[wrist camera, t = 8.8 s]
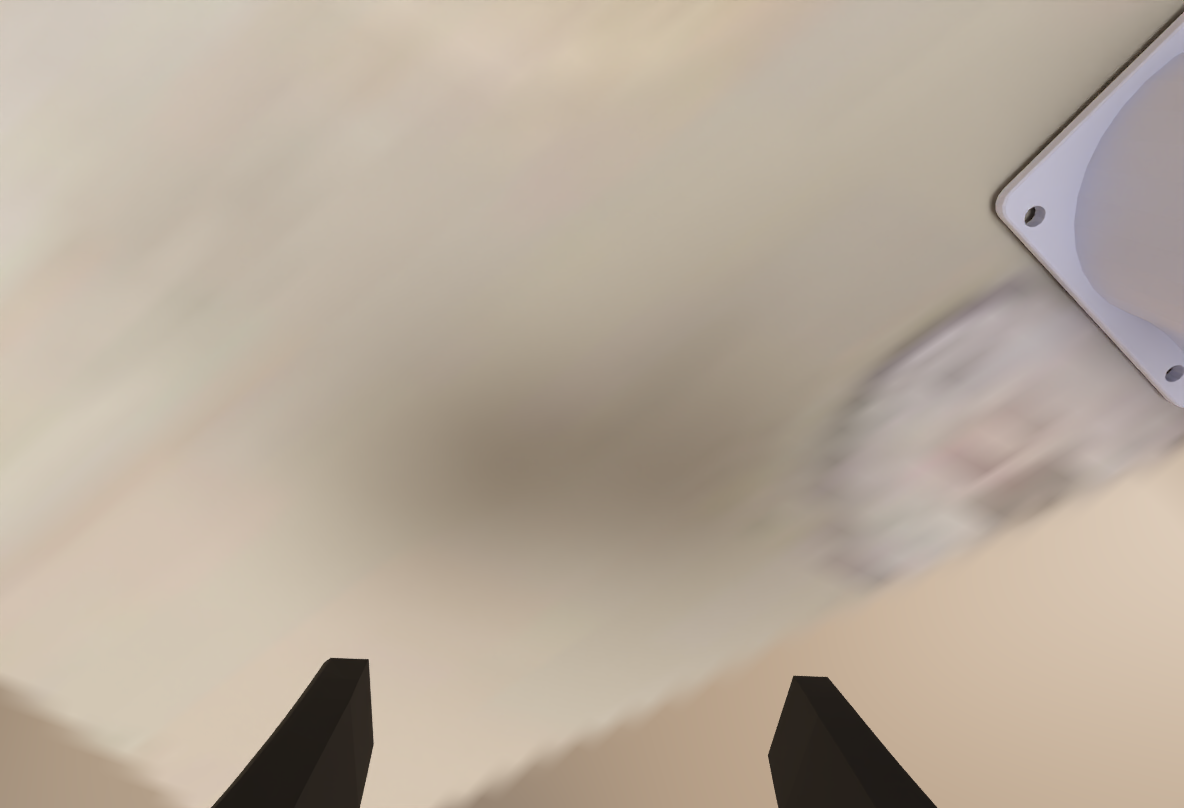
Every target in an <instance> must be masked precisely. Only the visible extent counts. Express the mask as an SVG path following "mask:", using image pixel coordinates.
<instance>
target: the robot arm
mask: <svg viewBox="0 0 1184 808" xmlns="http://www.w3.org/2000/svg"><path fill="white" fill-rule="evenodd" d="M1032 207H1035V209H1036V211H1035V215H1034V217H1033V218H1032V220H1031V221H1029V222H1027V223H1026V224H1025V221H1024V218H1025V214H1026V213H1027V212H1028V210H1029V209H1031V208H1032ZM996 212H997V214H998V216H999V218H1000V219H1001V220H1002V221H1003V222H1004V223H1005V224H1006V225H1007V226H1008V227H1009V229H1010V230H1011V231H1012V232H1013V233H1014V234H1015V235H1016V236H1017V237H1018V238H1019V239H1020V241H1021V242H1022V243H1023V244H1024V245H1025V246H1026V247H1027V248H1028V249H1029V250H1030V251H1031V253H1032V254H1033V255H1034V256H1035V257H1036V258H1037V259H1038V260H1039V261H1040V262H1041V263H1042V265H1043V266H1044V267H1045V268H1046V269H1047V270H1048V271H1049V272H1050V273H1051V274H1052V275H1053V277H1054V278H1055V279H1056V280H1057V281H1058V282H1059V283H1060V284H1061V285H1062V286H1063V287H1064V289H1065V290H1066V291H1067V292H1068V293H1069V294H1070V295H1071V296H1072V297H1073V298H1074V299H1075V301H1076V302H1077V303H1078V304H1079V305H1080V306H1081V307H1082V308H1083V309H1084V310H1085V311H1086V312H1087V314H1088V315H1089V316H1090V317H1091V318H1092V319H1093V320H1094V321H1095V322H1096V323H1097V324H1098V326H1099V327H1100V328H1101V329H1102V330H1103V331H1104V332H1105V333H1106V334H1107V335H1108V336H1109V338H1110V339H1111V340H1112V341H1113V342H1114V343H1115V344H1116V345H1117V346H1118V347H1119V348H1120V350H1121V351H1122V352H1123V353H1124V354H1125V355H1126V356H1127V357H1128V358H1129V359H1130V360H1131V362H1132V363H1133V364H1134V365H1135V366H1136V367H1137V368H1138V369H1139V370H1140V371H1141V372H1142V374H1143V375H1144V376H1145V377H1146V378H1147V379H1148V380H1149V381H1150V382H1151V383H1152V384H1153V386H1154V387H1155V388H1156V389H1157V390H1158V391H1159V392H1160V393H1161V394H1162V395H1163V396H1164V398H1165V399H1166V400H1167V401H1169V402H1171V403H1173V404H1174V405H1176V406H1178V407H1181V408H1184V12H1183V13H1182V14H1181V15H1180V16H1179V17H1178V18H1177V19H1176V20H1175V21H1174V22H1173V23H1172V24H1171V25H1170V26H1169V27H1168V28H1167V29H1166V30H1165V31H1164V32H1163V33H1162V34H1161V35H1160V36H1159V37H1158V38H1157V39H1156V40H1155V41H1154V42H1153V43H1152V44H1151V45H1150V46H1149V47H1147V48H1146V49H1145V50H1144V51H1143V52H1142V53H1141V54H1140V55H1139V56H1138V57H1137V58H1136V59H1135V60H1134V61H1133V62H1132V63H1131V64H1130V65H1129V66H1128V67H1127V68H1126V69H1125V70H1124V71H1123V72H1122V73H1121V74H1120V75H1119V76H1118V77H1117V78H1116V79H1115V80H1114V81H1113V82H1112V83H1111V84H1110V85H1109V86H1108V87H1107V88H1106V89H1105V90H1104V91H1103V92H1102V93H1101V94H1100V95H1099V96H1098V97H1096V98H1095V99H1094V100H1093V101H1092V102H1091V103H1090V104H1089V105H1088V106H1087V107H1086V108H1085V109H1084V110H1083V111H1082V112H1081V113H1080V114H1079V115H1078V116H1077V117H1076V118H1075V119H1074V120H1073V121H1072V122H1071V123H1070V124H1069V125H1068V126H1067V127H1066V128H1065V129H1064V130H1063V131H1062V132H1061V133H1060V134H1059V135H1058V136H1057V137H1056V138H1055V139H1054V140H1053V141H1052V142H1051V143H1050V144H1049V145H1048V146H1046V147H1045V148H1044V149H1043V150H1042V151H1041V152H1040V153H1039V154H1038V155H1037V156H1036V157H1035V158H1034V159H1033V160H1032V161H1031V162H1030V163H1029V164H1028V165H1027V166H1026V167H1025V168H1024V169H1023V170H1022V171H1021V172H1020V173H1019V174H1018V175H1017V176H1016V177H1015V178H1014V179H1013V180H1012V181H1011V182H1010V183H1009V184H1008V185H1007V186H1006V187H1005V188H1004V189H1003V190H1002V191H1001V193H1000V194H999V195H998V198H997V201H996ZM1171 367H1172V370H1171V371H1170V372H1169V373H1168V374H1166V372H1167V371H1168V370H1169V369H1170V368H1171ZM373 744H374V743H373V726H372V709H371V692H370V674H369V659H344V658H330V659H329V660H327V661H326V662H325V663H324V664H323V665H322V667H321V668H320V670H319V671H318V672H317V674H316V675H315V677H314V678H313V680H312V681H311V683H310V684H309V685H308V687H307V688H306V690H305V691H304V692H303V694H302V695H301V697H300V698H299V699H298V701H297V702H296V703H295V705H294V706H293V707H292V709H291V710H290V711H289V713H288V714H287V715H286V717H285V718H284V719H283V721H282V722H281V723H280V725H279V726H278V727H277V728H276V730H275V731H274V732H273V734H272V735H271V736H270V738H269V739H268V740H267V741H266V742H265V744H264V745H263V746H262V747H261V749H260V750H259V751H258V752H257V754H256V755H255V756H254V757H253V759H252V760H251V761H250V762H249V763H248V765H247V766H246V767H245V768H244V770H243V771H242V772H241V773H240V775H239V776H238V777H237V778H236V779H235V781H234V782H233V783H232V784H231V785H230V787H229V788H228V789H227V790H226V791H225V792H224V794H223V795H222V796H221V797H220V798H219V799H218V800H217V801H216V803H215V804H214V805H213V806H212V807H211V808H360V804H361V800H362V795H363V791H364V786H365V782H366V777H367V773H368V768H369V763H370V759H371V754H372V749H373ZM768 758H769V763H770V768H771V774H772V779H773V784H774V789H775V794H776V799H777V803H778V808H937V807H936V806H935V805H934V803H933V802H932V801H931V800H930V799H929V798H928V796H927V795H926V794H925V793H924V792H923V791H922V790H921V788H919V786H918V785H917V784H916V783H915V782H914V781H913V779H912V778H911V777H910V776H909V775H908V773H907V772H906V771H905V770H904V769H903V768H902V766H901V765H899V763H898V762H897V761H896V760H895V758H894V757H893V756H892V755H891V753H890V752H889V751H888V750H887V749H886V747H885V746H884V745H883V744H882V743H881V742H880V740H879V739H878V738H877V737H876V735H875V734H874V733H873V732H872V731H871V729H870V728H869V727H868V726H867V725H866V724H865V722H864V721H863V720H862V718H861V717H860V716H859V715H858V713H857V712H856V711H855V710H854V709H853V707H852V706H851V705H850V704H849V703H848V702H847V700H846V699H845V698H844V696H843V695H842V694H841V693H840V692H839V690H838V689H837V688H836V687H835V686H834V684H833V683H832V682H831V681H830V680H829V678H828V677H810V676H793V679H792V682H791V686H790V688H789V691H788V695H787V698H786V701H785V704H784V707H783V710H782V713H781V717H780V720H779V723H778V726H777V729H776V732H775V735H774V738H773V741H772V744H771V747H770V751H769V754H768Z"/></svg>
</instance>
